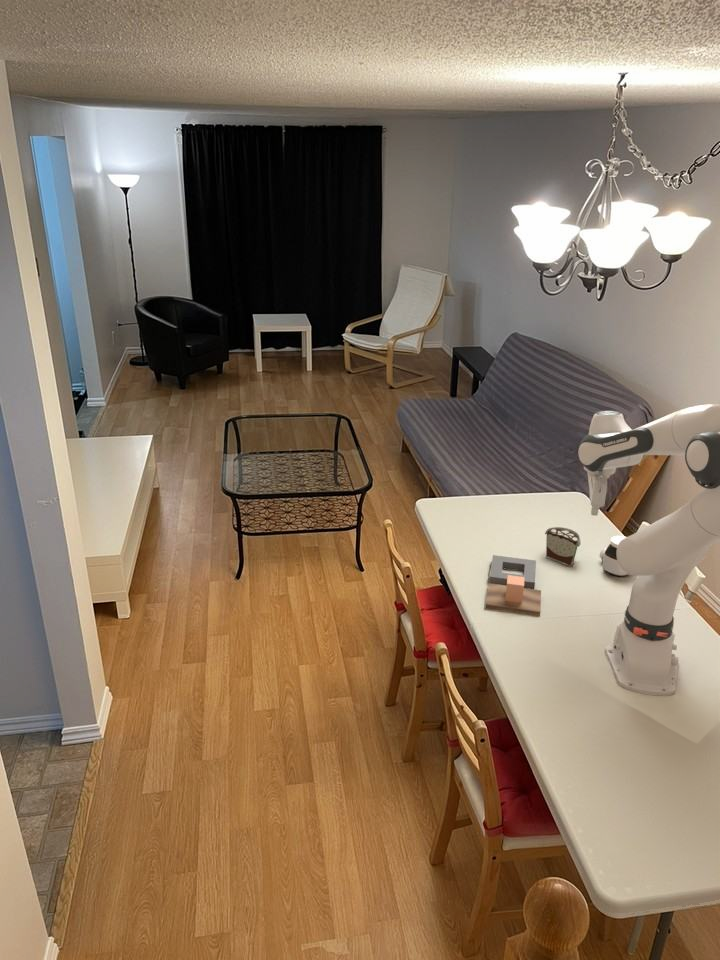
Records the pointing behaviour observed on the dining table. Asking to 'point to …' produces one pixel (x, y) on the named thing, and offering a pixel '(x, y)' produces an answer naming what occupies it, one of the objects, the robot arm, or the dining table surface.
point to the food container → (562, 544)
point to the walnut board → (528, 605)
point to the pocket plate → (513, 564)
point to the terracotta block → (514, 588)
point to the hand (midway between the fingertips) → (593, 507)
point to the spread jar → (612, 558)
